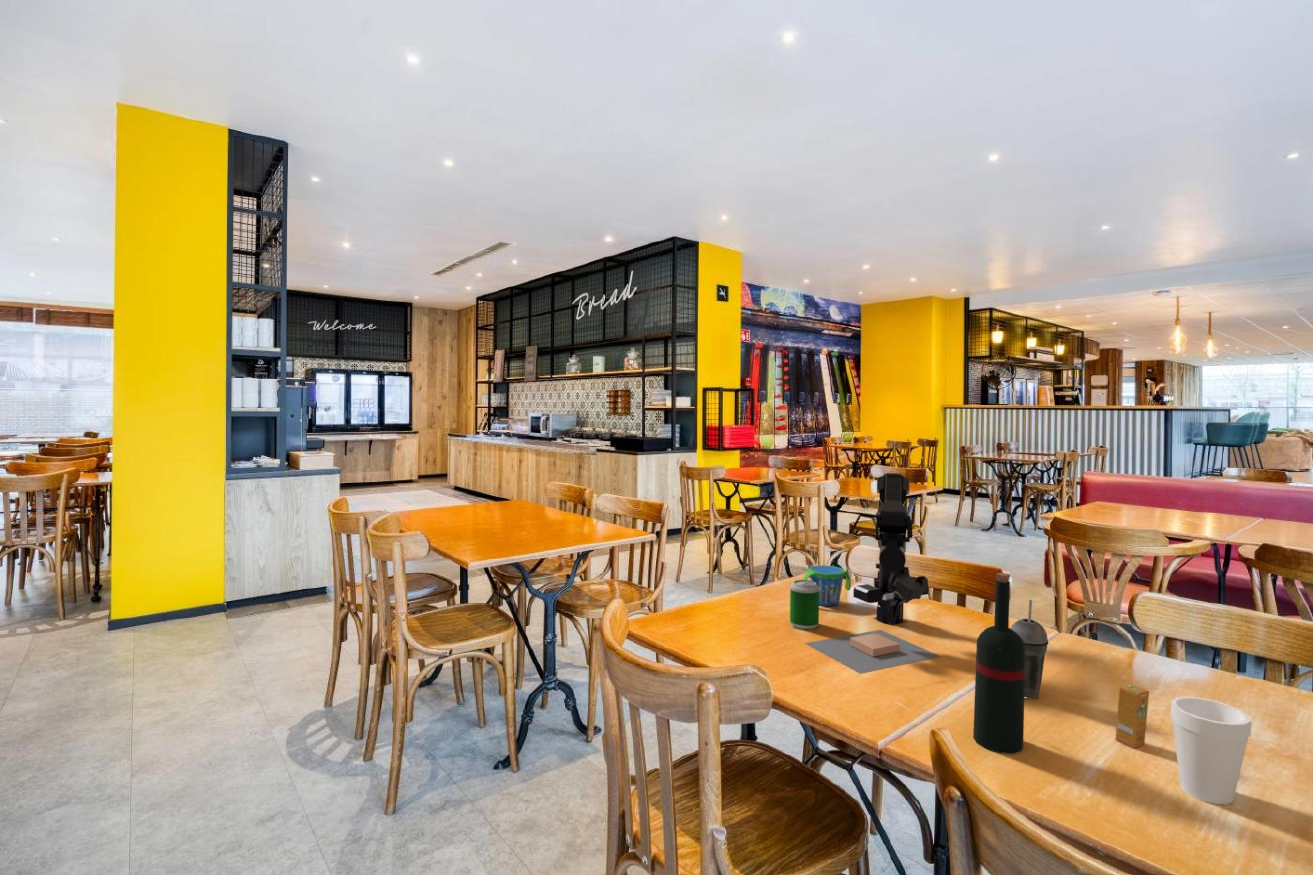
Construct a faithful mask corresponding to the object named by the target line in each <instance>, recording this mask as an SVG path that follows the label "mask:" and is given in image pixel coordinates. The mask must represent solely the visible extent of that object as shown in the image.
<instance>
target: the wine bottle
mask: <svg viewBox="0 0 1313 875" xmlns="http://www.w3.org/2000/svg"><path fill="white" fill-rule="evenodd" d="M995 577H996V578H995V579H996V580H995V591H994V592H995V594H994V625H991V626H989V627H986V628H984V630H982V632H980V634H979V635H978V637H977V639H976V653H975V654H976V655H975V658H976V659H975V681H974V684H975V685H974V708H973V735H972V738H973V740H974V741H975V742H976V744H977V745H979V746H980V747H982V748H984V749H986V750H988V751H992V752H996V753H999V754H1009V755H1010V754H1011V755H1012V754H1013V755H1014V754H1018V753H1020V752H1022V750H1023V748H1024V726H1025V724H1024V722H1025V698H1024V692H1025V650H1026V646H1025V644H1024V641H1023V640H1022V638H1021V637H1020V636H1019V635H1018V634H1017V633H1016V632H1015V631H1013V630H1012V629H1010V628H1011V627H1009V624H1010V620H1009V619H1010V589H1011V581H1010V578H1011V575H1010V574H1008V573H1003V572H999V573H995Z"/></svg>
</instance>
